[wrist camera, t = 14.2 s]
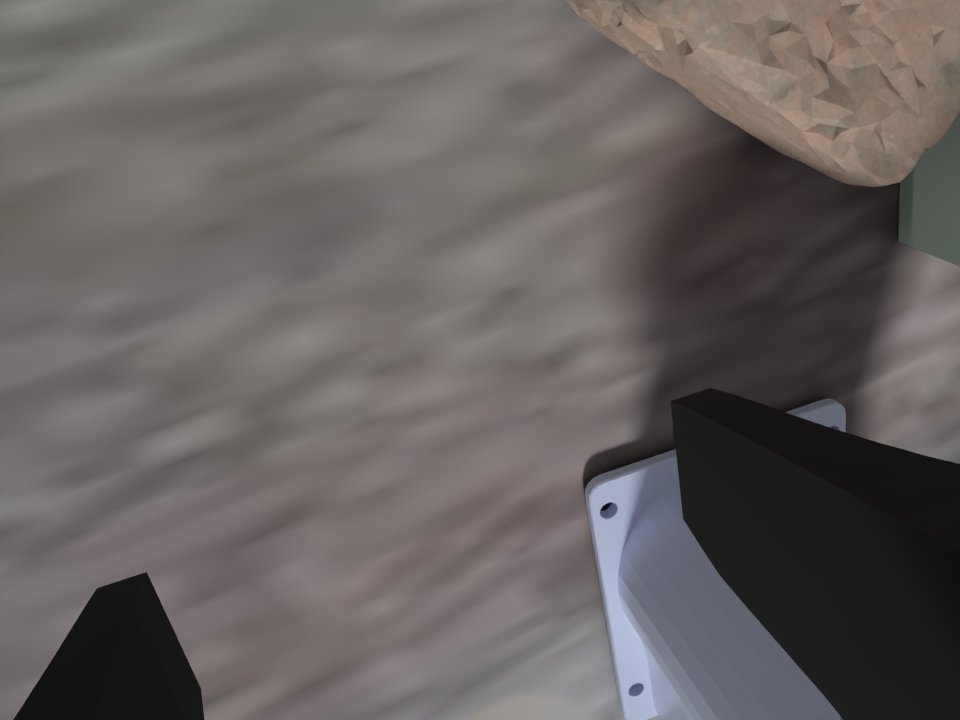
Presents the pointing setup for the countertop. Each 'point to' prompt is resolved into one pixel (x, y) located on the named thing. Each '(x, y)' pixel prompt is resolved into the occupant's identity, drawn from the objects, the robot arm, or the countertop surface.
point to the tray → (934, 199)
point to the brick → (807, 72)
